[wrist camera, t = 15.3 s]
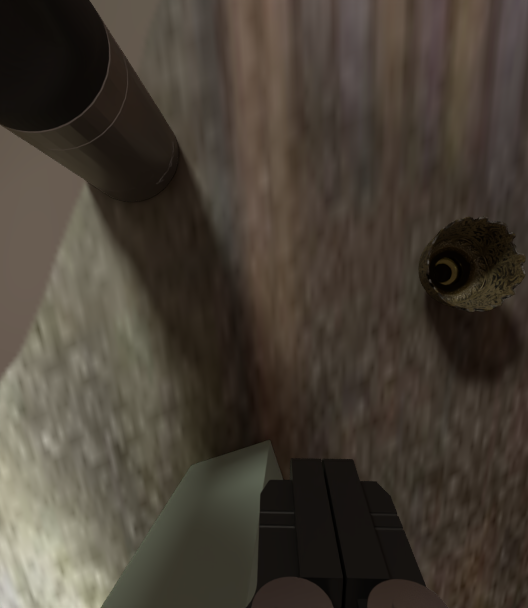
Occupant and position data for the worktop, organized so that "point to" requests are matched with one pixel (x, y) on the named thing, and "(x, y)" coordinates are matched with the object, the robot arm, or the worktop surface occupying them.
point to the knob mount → (203, 538)
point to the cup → (472, 264)
